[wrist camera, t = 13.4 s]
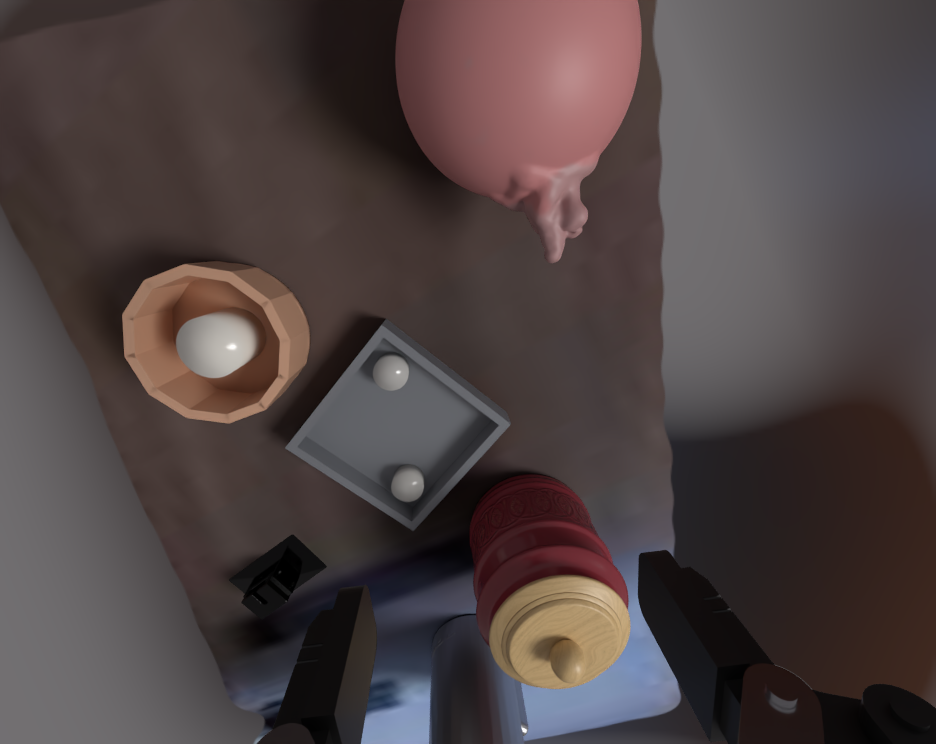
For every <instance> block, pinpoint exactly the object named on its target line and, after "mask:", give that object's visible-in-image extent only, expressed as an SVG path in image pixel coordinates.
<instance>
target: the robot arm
mask: <svg viewBox="0 0 936 744" xmlns="http://www.w3.org/2000/svg"><path fill="white" fill-rule="evenodd" d="M638 599H639V604H640V608H641V611H642V614H643V616H644V619H645V621H646V622H647V624H648V626H649V628H650V630H651V632H652V634H653V636H654V638H655V639H656V641H657V643H658V645H659V647H660V649H661V651H662V653H663V654H664V656H665V658H666V660H667V662H668V664H669V666H670V668H671V669H672V671H673V673H674V675H675V677H676V679H677V681H678V683H679V685H680V686H681V688H682V690H683V692H684V694H685V696H686V698H687V699H688V701H689V703H690V705H691V707H692V709H693V711H694V713H695V715H696V716H697V718H698V720H699V722H700V724H701V726H702V728H703V730H704V731H705V733H706V735H707V737H708V739H709V741H710V742H716V741H724V740H726V741H727V742H728V744H936V708H935V707H933V706H932V705H931V704H929V703H928V702H927V701H925V700H924V699H922V698H920V697H919V696H916V695H915V694H913V693H911V692H909V691H907V690H904V689H902V688H899V687H895V686H892V685H886V684H874V685H871V686H868V687H867V688H866V689H865V690H864V692H863V696H862V699H861V700H859V699H854V698H849V697H843V696H838V695H832V694H827V693H823V692H819V691H815V690H812V689H811V688H810V687H809V686H808V685H807V684H806V683H805V682H804V681H803V680H802V679H800V678H799V677H798V676H797V675H795V674H793V673H792V672H790V671H788V670H786V669H784V668H782V667H779V666H776V665H774V663H773V662H772V661H771V660H770V659H769V657H768V656H767V655H766V653H765V652H764V651H763V650H762V648H761V647H760V646H759V645H758V643H757V642H756V641H755V639H754V638H753V637H752V636H751V634H750V633H749V632H748V630H747V629H746V628H745V627H744V625H743V624H742V623H741V622H740V620H739V619H738V618H737V616H736V615H735V614H734V613H733V612H731V610H730V607H729V606H728V605H727V603H726V602H725V601H724V600H723V598H722V599H721V597H720V595H719V593H718V592H717V591H716V589H715V588H714V587H713V586H712V584H711V583H710V582H709V580H708V579H706V578H705V577H704V576H702V575H701V574H699V573H698V572H697V571H695V570H694V569H692V568H691V567H685V568H681V567H680V566H679V565H678V563H677V562H676V561H675V559H674V558H673V556H672V555H671V554H670V553H669V552H668V551H667V550H662V551H654V552H646V553H641V554H640V555H639V571H638ZM376 647H377V630H376V623H375V618H374V613H373V608H372V604H371V599H370V594H369V589H368V587H367V586H366V585H364V586H356V587H347V588H341V589H340V590H339V592H338V595H337V598H336V602H335V605H334V608H333V609H331V610H323V611H321V612H320V613H319V614H318V616H317V617H316V618H315V620H314V621H313V622H312V623H311V625H310V626H309V627H308V630H307V633H306V636H305V639H304V642H303V644H302V649H301V650H300V653H299V656H298V659H297V664H296V665H295V667H294V670H293V673H292V676H291V679H290V682H289V684H288V687H287V690H286V693H285V696H284V699H283V701H282V704H281V707H280V710H279V713H278V716H277V719H276V721H275V724H274V726H273V729H272V730H271V731H270V732H268V733H267V734H266V735H265V736H264V737H263V738H262V739H261V740H260V741H259V742H258V743H257V744H361V739H362V733H363V727H364V720H365V714H366V708H367V702H368V696H369V690H370V684H371V678H372V672H373V666H374V660H375V654H376ZM527 732H528V722H527V716H526V711H525V705H524V699H523V693H522V688H521V682H519V681H517V680H515V679H513V678H512V677H510V676H509V675H507V674H506V673H505V672H504V671H503V670H502V669H501V668H500V667H499V666H498V664H497V663H496V661H495V659H494V658H493V655H492V653H491V649H490V647H489V646H488V645H487V644H486V642H485V641H484V639H483V637H482V636H481V634H480V631H479V628H478V625H477V620H476V615H468V616H461V617H458V618H455V619H452V620H451V621H449V622H447V623H445V624H444V625H443V626H442V627H441V628H440V629H439V630H438V631H437V632H436V634H435V636H434V638H433V643H432V662H431V693H430V730H429V744H524V739H523V736H524V735H526V733H527Z"/></svg>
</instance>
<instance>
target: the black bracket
mask: <svg viewBox="0 0 936 744" xmlns="http://www.w3.org/2000/svg"><path fill="white" fill-rule="evenodd" d="M326 567H327V566H326V565H325V564H324V563H323V562H322V561H321V560H320V559H319V558H318V557H317V556H315V555H314V554H313V553H312V552H311V551H310V550H309V549H308V548H307V547H306V546H305V545H304V544H303V543H302V542H301V541H300V540H298V539H297V538H296V537H295V536H294V535H290V536H289V537H288V538H286V539H285V540H284V541H282V542H281V543H279V544H278V545H277V546H275V547H274V548H272V549H271V550H270V551H268V552H267V553H265V554H264V555H263V556H261V557H260V558H258V559H257V560H256V561H254V562H253V563H251V564H250V565H249V566H247V567H246V568H244V569H243V570H242V571H240V572H239V573H238V574H236V575H235V576H233V577H232V578H231V579H229V581H230V582H231V583H233V584H234V585H235V586H236V587H238V588H239V589H240V590H241V591H242V592H244V593H245V595H244V596H243V597H244V599H243V600H242V602H241V603H242V604H244V605H245V606H246V607H247V608H248V609H250V610H251V611H252V612H253V613H255V614H256V615H257V616H258V617H259V618H261V619H263V618H265V617H266V616H267V615H269V614H270V613H272V612H273V611H275V610H276V609H278V608H279V607H280V606H282V605H283V604H285V603H286V602H287V601H288V599H289V596H290V594H292V593H293V591H294V590H295V589H296V588H298V587H299V586H301V585H302V584H303V583H305V582H306V581H308V580H309V579H311V578H312V577H313V576H315V575H316V574H318V573H319V572H320V571H322V570H323V569H325V568H326Z"/></svg>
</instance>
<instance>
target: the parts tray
mask: <svg viewBox="0 0 936 744" xmlns="http://www.w3.org/2000/svg"><path fill="white" fill-rule="evenodd" d="M388 352H396V353H399V354H401V355H403V356H404V357H405V358H406V359H407V361H408V363H409V367H410V370H409V375H408V379H407V382H406V383H405V385H404V386H403V387H401V388H400V389H398V390H393V391H389V390H385V389H382V388H381V387H379V386H378V385H377V384H376V382H375V381H374V378H373V369H374V366H375V364H376V362H377V360H378V359H379V357H380V356H382V355H383V354H385V353H388ZM510 425H511V423H510V420H509V417H508V415H507V412H506V411H505V410H503V409H502V408H501V407H499V406H498V405H497V404H496V403H494V402H493V401H492V400H490V399H489V398H488V397H487V396H485V395H484V394H483V393H481V392H480V391H479V390H478V389H476V388H475V387H474V386H472V385H471V384H470V383H469V382H467V381H466V380H465V379H463V378H462V377H461V376H459V375H458V374H457V373H456V372H454V371H453V370H452V369H450V368H449V367H448V366H447V365H445V364H444V363H443V362H441V361H440V360H439V359H438V358H436V357H435V356H434V355H432V354H431V353H430V352H429V351H427V350H426V349H425V348H423V347H422V346H421V345H419V344H418V343H417V342H416V341H414V340H413V339H412V338H410V337H409V336H408V335H407V334H405V333H404V332H403V331H401V330H400V329H399V328H398V327H396V326H395V325H394V324H392V323H391V322H390V321H389V320H387V319H386V320H385V321H384V322H383V323H382V325H381V326H380V327H379V329H378V330H377V331H376V332H375V334H374V335H373V336H372V337H371V339H370V340H369V341H368V343H367V344H366V345H365V346H364V348H363V349H362V350H361V351H360V353H359V354H358V355H357V357H356V358H355V359H354V360H353V362H352V363H351V364H350V366H349V367H348V368H347V369H346V371H345V372H344V373H343V374H342V376H341V377H340V378H339V380H338V381H337V382H336V383H335V385H334V386H333V387H332V388H331V390H330V391H329V392H328V394H327V395H326V396H325V397H324V399H323V400H322V401H321V403H320V404H319V405H318V406H317V408H316V409H315V410H314V411H313V413H312V414H311V415H310V417H309V418H308V419H307V420H306V422H305V423H304V424H303V425H302V427H301V428H300V429H299V431H298V432H297V433H296V434H295V436H294V437H293V438H292V440H291V441H290V442H289V444H288V445H287V446H286V449H287V450H289V451H290V452H292V453H293V454H295V455H296V456H298V457H299V458H301V459H303V460H304V461H306V462H307V463H309V464H310V465H312V466H313V467H315V468H316V469H318V470H320V471H321V472H323V473H324V474H326V475H327V476H329V477H330V478H332V479H333V480H335V481H337V482H338V483H340V484H341V485H343V486H344V487H346V488H347V489H349V490H350V491H352V492H354V493H355V494H357V495H358V496H360V497H361V498H363V499H364V500H366V501H367V502H369V503H371V504H372V505H374V506H375V507H377V508H378V509H380V510H381V511H383V512H384V513H386V514H387V515H389V516H391V517H392V518H394V519H395V520H397V521H398V522H400V523H401V524H403V525H404V526H406V527H408V528H409V529H411V530H412V531H414V530H415V529H416V528H417V527H418V525H419V524H420V523H421V522H422V521H423V520H424V519H425V518H426V517H427V516H428V515H429V513H430V512H431V511H432V510H433V509H434V508H435V507H436V506H437V505H438V504H439V502H440V501H441V500H442V499H443V498H444V497H445V496H446V495H447V494H448V493H449V491H450V490H451V489H452V488H453V487H454V486H455V485H456V484H457V483H458V482H459V481H460V479H461V478H462V477H463V476H464V475H465V474H466V473H467V472H468V471H469V470H470V468H471V467H472V466H473V465H474V464H475V463H476V462H477V461H478V460H479V459H480V458H481V456H482V455H483V454H484V453H485V452H486V451H487V450H488V449H489V448H490V447H491V445H492V444H493V443H494V442H495V441H496V440H497V439H498V438H499V437H500V436H501V435H502V433H503V432H504V431H505V430H506V429H507V428H508V427H509V426H510ZM406 464H412V465H415V466H417V467H419V468H420V469H421V470H422V471H423V473H424V477H425V480H424V489H423V493H422V495H421V496H420V497H419V498H418V499H416V500H414V501H410V502H405V501H401V500H399V499H397V498H396V497H395V496H394V495H393V493H392V490H391V484H392V480H393V476H394V473H395V471H396V470H397V469H398V468H399V467H400V466H402V465H406Z"/></svg>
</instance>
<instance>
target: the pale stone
mask: <svg viewBox="0 0 936 744" xmlns="http://www.w3.org/2000/svg"><path fill="white" fill-rule="evenodd" d="M265 344H266V332H265V328H264V326H263V324H262V323H261V321H260V320H259V319H258V318H257V317H256V316H255V315H254V314H253V313H251V312H250V311H248V310H245V309H242V308H237V307H230V308H226V309H222V310H219V311H216V312H213V313H210V314H206V315H203V316H200V317H197V318H194V319H191V320H189V321H187V322H186V323H185V324H184V325H183V326H182V327H181V328H180V330H179V332H178V334H177V338H176V348H177V352H178V354H179V357H180V359H181V360H182V362H183V363H184V364H185V365H186V366H187V367H188V368H189V369H190V370H191V371H193V372H195V373H196V374H198V375H201V376H204V377H208V378H220V377H224V376H226V375H229V374H230V373H232V372H233V371H235V370H237V369H238V368H240V367H241V366H243V365H245V364H246V363H248V362H249V361H251V360H253V359H254V358H256V357H257V356H259V355H260V354H261V352H262V351H263V349H264V347H265Z"/></svg>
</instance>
